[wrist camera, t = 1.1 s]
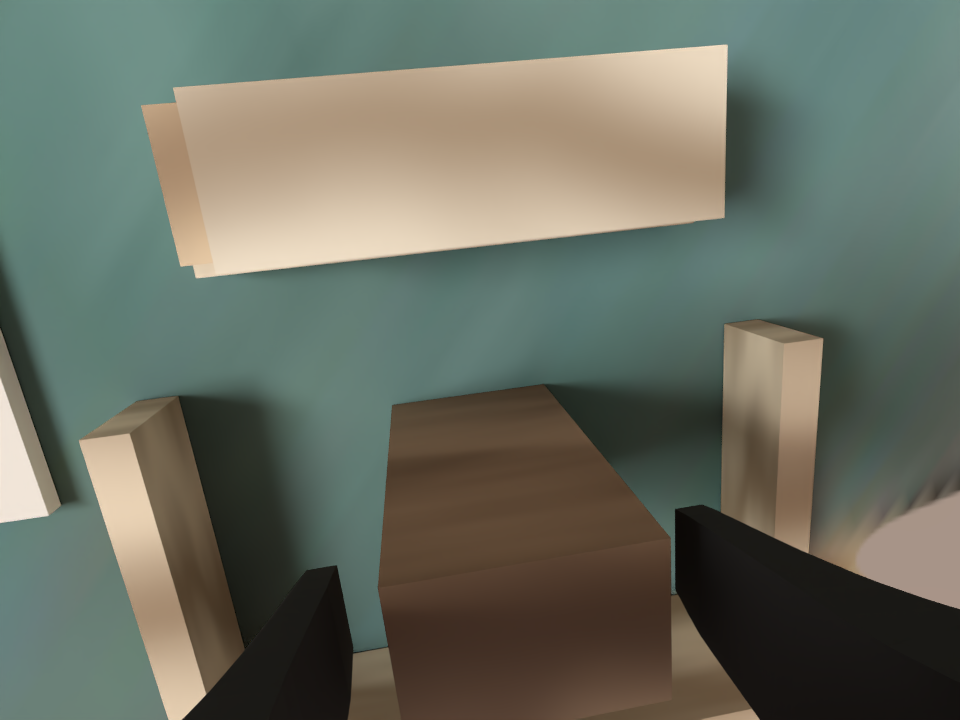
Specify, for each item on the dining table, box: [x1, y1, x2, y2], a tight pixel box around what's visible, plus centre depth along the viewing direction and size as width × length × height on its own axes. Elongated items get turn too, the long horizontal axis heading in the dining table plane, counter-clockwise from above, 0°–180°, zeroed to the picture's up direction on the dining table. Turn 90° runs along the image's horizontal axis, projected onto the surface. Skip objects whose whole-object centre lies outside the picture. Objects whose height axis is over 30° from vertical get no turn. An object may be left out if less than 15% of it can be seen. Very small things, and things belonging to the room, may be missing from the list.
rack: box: [79, 319, 823, 720], centre depth 16 cm, size 12×20×5 cm, turn 96°
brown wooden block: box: [378, 384, 672, 720], centre depth 14 cm, size 4×5×9 cm
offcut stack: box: [141, 45, 727, 278], centre depth 14 cm, size 4×14×4 cm, turn 96°
